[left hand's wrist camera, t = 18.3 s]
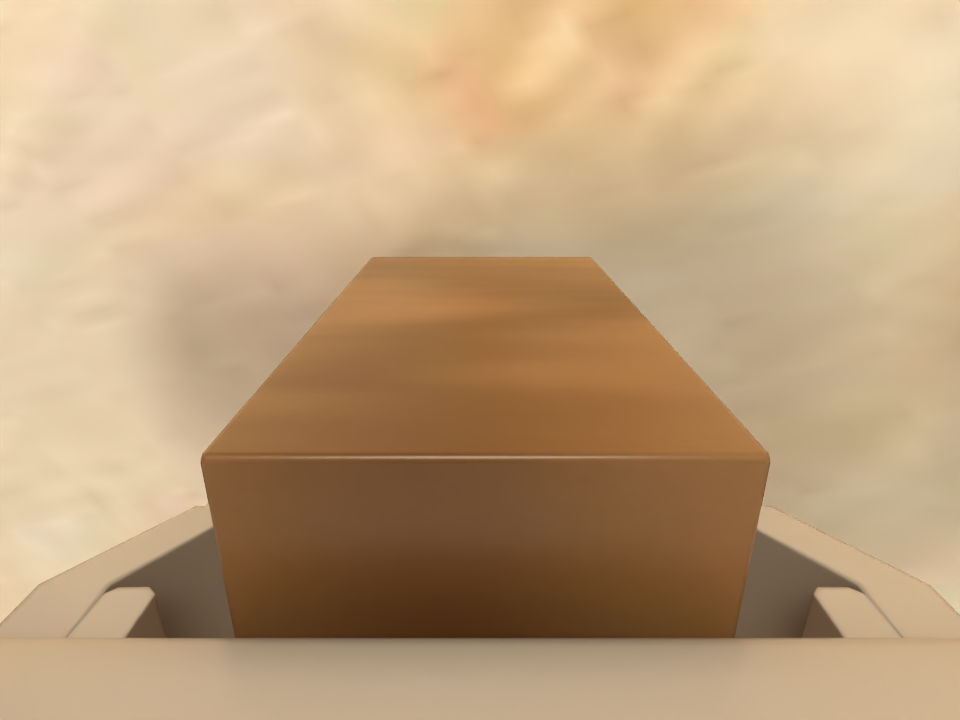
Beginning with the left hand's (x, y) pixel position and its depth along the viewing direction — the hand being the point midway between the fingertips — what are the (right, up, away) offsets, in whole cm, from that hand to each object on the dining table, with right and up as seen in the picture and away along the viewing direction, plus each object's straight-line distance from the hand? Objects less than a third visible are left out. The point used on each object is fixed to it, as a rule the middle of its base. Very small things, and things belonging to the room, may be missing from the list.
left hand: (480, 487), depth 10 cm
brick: (0, +2, +4) cm, 4 cm away
